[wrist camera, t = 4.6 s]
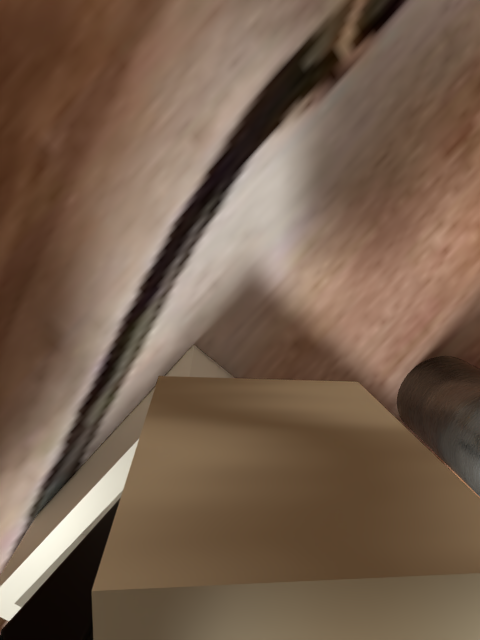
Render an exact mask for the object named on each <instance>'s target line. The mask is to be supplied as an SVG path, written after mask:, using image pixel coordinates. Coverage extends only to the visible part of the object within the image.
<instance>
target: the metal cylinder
mask: <svg viewBox="0 0 480 640" xmlns="http://www.w3.org/2000/svg"><path fill="white" fill-rule="evenodd" d="M397 408H398V412H399V414H400V417H401V418H402V420H403V421H404V422H405V423H406V424H407V425H408V426H409V427H410V428H411V429H412V430H413V431H414V432H415V433H416V434H417V435H418V436H419V437H420V438H421V439H422V440H423V441H424V442H425V443H426V444H427V445H428V446H429V447H430V448H431V449H432V450H433V451H434V452H435V453H436V454H437V455H438V456H439V457H440V458H441V459H442V460H443V461H444V462H445V463H446V464H447V465H448V466H449V467H450V468H451V469H452V470H453V471H454V472H455V473H456V474H457V475H458V476H459V477H460V478H461V479H462V480H463V481H464V482H465V483H467V484H468V485H469V486H470V487H471V488H472V489H473V490H474V491H475V492H476V493H477V494H478V495H479V496H480V369H478V368H476V367H474V366H472V365H470V364H468V363H466V362H464V361H462V360H460V359H458V358H454V357H449V356H442V357H436V358H432V359H429V360H427V361H425V362H423V363H421V364H419V365H418V366H416V367H415V368H414V369H413V370H412V371H411V372H410V373H409V374H408V375H407V376H406V378H405V379H404V381H403V382H402V384H401V386H400V389H399V392H398V397H397Z"/></svg>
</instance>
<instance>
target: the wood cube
mask: <svg viewBox="0 0 480 640" xmlns="http://www.w3.org/2000/svg"><path fill="white" fill-rule="evenodd" d="M92 617H93V640H480V498H479V497H478V496H477V495H476V494H475V493H473V492H472V491H471V490H470V489H469V488H468V487H467V486H466V485H465V484H464V483H463V482H462V481H461V480H460V479H459V478H458V477H457V476H456V475H455V474H454V473H453V472H452V471H451V470H449V469H448V468H447V467H446V466H445V465H444V464H443V463H442V462H441V461H440V460H439V459H438V458H437V457H436V456H435V455H434V454H433V453H432V452H431V451H430V450H429V449H428V448H427V447H425V446H424V445H423V444H422V443H421V442H420V441H419V440H418V439H417V438H416V437H415V436H414V435H413V434H412V433H411V432H410V431H409V430H408V429H407V428H406V427H405V426H404V425H403V424H401V423H400V422H399V421H398V420H397V419H396V418H395V417H394V416H393V415H392V414H391V413H390V412H389V411H388V410H387V409H386V408H385V407H384V406H383V405H382V404H381V403H380V402H379V401H377V400H376V399H375V398H374V397H373V396H372V395H371V394H370V393H369V392H368V391H367V390H366V389H365V388H364V387H363V386H362V385H361V384H360V383H359V382H350V381H315V380H280V379H245V378H210V377H176V376H159V377H158V380H157V383H156V386H155V390H154V393H153V396H152V399H151V402H150V406H149V409H148V412H147V415H146V418H145V422H144V425H143V428H142V431H141V434H140V438H139V441H138V444H137V447H136V450H135V454H134V457H133V460H132V463H131V466H130V470H129V473H128V476H127V479H126V482H125V486H124V489H123V492H122V495H121V498H120V502H119V505H118V508H117V511H116V514H115V518H114V521H113V524H112V527H111V530H110V534H109V537H108V540H107V543H106V546H105V550H104V553H103V556H102V559H101V562H100V566H99V569H98V572H97V575H96V578H95V582H94V585H93V588H92Z"/></svg>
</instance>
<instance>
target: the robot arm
mask: <svg viewBox="0 0 480 640" xmlns="http://www.w3.org/2000/svg"><path fill="white" fill-rule="evenodd" d="M119 502H120V499H119V500H118V501H117V502H116V503H115V504H114V505H113V507H112V508H111V509H110V510H109V511H108V512H107V513H106V514H105V515H104V517H103V518H102V519H101V520H100V521H99V522H98V523H97V524H96V525H95V527H94V528H93V529H92V530H91V531H90V532H89V533H88V534H87V535H86V537H85V538H84V539H83V540H82V541H81V542H80V543H79V544H78V545H77V547H76V548H75V549H74V550H73V551H72V552H71V553H70V554H69V555H68V557H67V558H66V559H65V560H64V561H63V562H62V563H61V564H60V565H59V567H58V568H57V569H56V570H55V571H54V572H53V573H52V574H51V575H50V577H49V578H48V579H47V580H46V581H45V582H44V583H43V584H42V585H41V587H40V588H39V589H38V590H37V591H36V592H35V593H34V594H33V595H32V597H31V598H30V599H29V600H28V601H27V602H26V603H25V604H24V605H23V607H22V608H21V609H20V610H19V611H18V612H17V613H16V614H15V615H14V617H13V618H12V619H11V620H10V621H9V622H8V623H7V624H6V625H5V627H4V628H3V629H2V630H1V635H0V640H93V617H92V588H93V585H94V582H95V578H96V575H97V572H98V569H99V566H100V562H101V559H102V556H103V553H104V550H105V546H106V543H107V540H108V537H109V534H110V530H111V527H112V524H113V521H114V518H115V514H116V511H117V508H118V505H119Z"/></svg>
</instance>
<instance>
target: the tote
mask: <svg viewBox="0 0 480 640" xmlns="http://www.w3.org/2000/svg"><path fill="white" fill-rule="evenodd" d="M165 376H176V377H210V378H234V377H233V376H232V375H231V374H230V373H228V372H227V371H226V370H225V369H223V368H222V367H221V366H220V365H218V364H217V363H216V362H215V361H214V360H212V359H211V358H210V357H209V356H207V355H206V354H205V353H204V352H202V351H201V350H200V349H199V348H198V347H196V346H195V345H193V346H192V347H191V348H190V349H189V350H188V351H187V352H186V353H185V355H184V356H183V357H182V358H181V359H180V360H179V361H178V362H177V363H176V364H175V365H174V367H173V368H172V369H171V370H170V371H169V372H168V373H167V374H166V375H165ZM154 390H155V387H154V388H153V389H152V390H151V392H150V393H149V394H148V395H147V396H146V397H145V398H144V399H143V400H142V401H141V402H140V404H139V405H138V406H137V407H136V408H135V409H134V410H133V411H132V412H131V413H130V414H129V415H128V417H127V418H126V419H125V420H124V421H123V422H122V423H121V424H120V425H119V426H118V427H117V429H116V430H115V431H114V432H113V433H112V434H111V435H110V436H109V437H108V438H107V439H106V441H105V442H104V443H103V444H102V445H101V446H100V447H99V448H98V449H97V450H96V451H95V452H94V454H93V455H92V456H91V457H90V458H89V459H88V460H87V461H86V462H85V463H84V464H83V466H82V467H81V468H80V469H79V470H78V471H77V472H76V473H75V474H74V475H73V476H72V478H71V479H70V480H69V481H68V482H67V483H66V484H65V485H64V486H63V487H62V488H61V490H60V491H59V492H58V493H57V494H56V495H55V496H54V497H53V498H52V499H51V500H50V501H49V503H48V504H47V505H46V506H45V507H44V508H43V509H42V510H41V511H40V512H39V513H38V515H37V516H36V517H35V519H34V521H33V522H32V524H31V526H30V527H29V529H28V531H27V532H26V534H25V536H24V537H23V539H22V540H21V542H20V544H19V545H18V547H17V549H16V550H15V552H14V554H13V555H12V557H11V559H10V560H9V562H8V564H7V565H6V567H5V569H4V570H3V572H2V573H1V575H0V617H2V618H4V619H6V620H8V621H10V620H11V619H12V618H13V617H14V615H15V614H16V613H17V612H18V611H19V610H20V609H21V608H22V607H23V605H24V604H25V603H26V602H27V601H28V600H29V599H30V598H31V597H32V595H33V594H34V593H35V592H36V591H37V590H38V589H39V588H40V587H41V585H42V584H43V583H44V582H45V581H46V580H47V579H48V578H49V577H50V575H51V574H52V573H53V572H54V571H55V570H56V569H57V568H58V567H59V565H60V564H61V563H62V562H63V561H64V560H65V559H66V558H67V557H68V555H69V554H70V553H71V552H72V551H73V550H74V549H75V548H76V547H77V545H78V544H79V543H80V542H81V541H82V540H83V539H84V538H85V537H86V535H87V534H88V533H89V532H90V531H91V530H92V529H93V528H94V527H95V525H96V524H97V523H98V522H99V521H100V520H101V519H102V518H103V517H104V515H105V514H106V513H107V512H108V511H109V510H110V509H111V508H112V507H113V505H114V504H115V503H116V502H117V501H118V500H119V499H120V498H121V495H122V492H123V489H124V486H125V482H126V479H127V476H128V473H129V470H130V466H131V463H132V460H133V457H134V454H135V450H136V447H137V444H138V441H139V438H140V434H141V431H142V428H143V425H144V422H145V418H146V415H147V412H148V409H149V406H150V402H151V399H152V396H153V393H154Z"/></svg>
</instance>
